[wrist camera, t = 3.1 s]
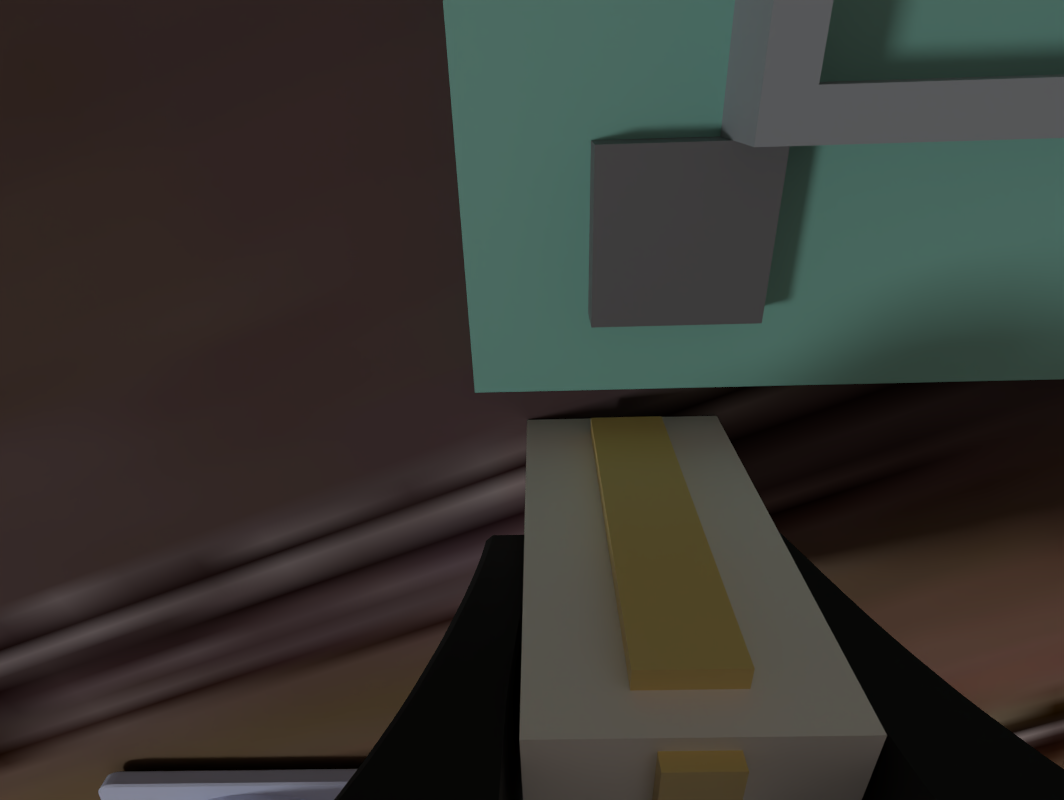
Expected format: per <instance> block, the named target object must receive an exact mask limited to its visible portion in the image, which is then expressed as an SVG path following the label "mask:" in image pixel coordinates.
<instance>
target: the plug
mask: <svg viewBox="0 0 1064 800" xmlns="http://www.w3.org/2000/svg"><path fill="white" fill-rule="evenodd" d="M886 737H887V734H886V732H885V730H884V729H883V727H882V725H881V723H880V721H879V719H878V717H877V715H876V714H875V712H874V710H873V708H872V706H871V704H870V702H869V700H868V699H867V697H866V695H865V693H864V691H863V689H862V687H861V685H860V684H859V682H858V680H857V678H856V676H855V674H854V672H853V670H852V669H851V667H850V665H849V663H848V661H847V659H846V657H845V655H844V654H843V652H842V650H841V648H840V646H839V644H838V642H837V640H836V639H835V637H834V635H833V633H832V631H831V629H830V627H829V625H828V624H827V622H826V620H825V618H824V616H823V614H822V612H821V610H820V609H819V607H818V605H817V603H816V601H815V599H814V597H813V595H812V594H811V592H810V590H809V588H808V586H807V584H806V582H805V580H804V579H803V577H802V575H801V573H800V571H799V569H798V567H797V565H796V564H795V562H794V560H793V558H792V556H791V554H790V552H789V550H788V549H787V547H786V545H785V543H784V541H783V539H782V537H781V535H780V534H779V532H778V530H777V528H776V526H775V524H774V522H773V520H772V519H771V517H770V515H769V513H768V511H767V509H766V507H765V505H764V504H763V502H762V500H761V498H760V496H759V494H758V492H757V490H756V489H755V487H754V485H753V483H752V481H751V479H750V477H749V475H748V474H747V472H746V470H745V468H744V466H743V464H742V462H741V460H740V459H739V457H738V455H737V453H736V451H735V449H734V447H733V445H732V444H731V442H730V440H729V438H728V436H727V434H726V432H725V430H724V429H723V427H722V425H721V423H720V421H719V419H718V417H717V416H682V417H661V416H651V417H606V418H591V419H545V420H527V452H526V493H525V533H524V573H523V614H522V654H521V694H520V735H519V742H520V758H521V775H522V791H523V800H862V798H863V796H864V793H865V790H866V788H867V785H868V783H869V780H870V778H871V775H872V773H873V770H874V768H875V765H876V762H877V760H878V757H879V755H880V752H881V750H882V747H883V745H884V742H885V740H886Z"/></svg>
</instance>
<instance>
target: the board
mask: <svg viewBox="0 0 1064 800" xmlns="http://www.w3.org/2000/svg"><path fill="white" fill-rule="evenodd" d="M443 7H444V19H445V31H446V43H447V56H448V68H449V80H450V92H451V105H452V117H453V129H454V142H455V154H456V166H457V178H458V191H459V203H460V215H461V228H462V240H463V252H464V264H465V277H466V289H467V301H468V314H469V326H470V338H471V350H472V363H473V375H474V387H475V393H478V392H522V391H566V390H610V389H654V388H698V387H742V386H786V385H830V384H874V383H918V382H961V381H1005V380H1049V379H1064V0H443Z"/></svg>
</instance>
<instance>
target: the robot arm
mask: <svg viewBox="0 0 1064 800" xmlns="http://www.w3.org/2000/svg"><path fill="white" fill-rule="evenodd" d="M778 532H779V531H778ZM779 534H780V535H781V537H782V539H783V541H784V543H785V545H786V547H787V549H788V550H789V552H790V554H791V556H792V558H793V560H794V562H795V564H796V565H797V567H798V569H799V571H800V573H801V575H802V577H803V579H804V580H805V582H806V584H807V586H808V588H809V590H810V592H811V594H812V595H813V597H814V599H815V601H816V603H817V605H818V607H819V609H820V610H821V612H822V614H823V616H824V618H825V620H826V622H827V624H828V625H829V627H830V629H831V631H832V633H833V635H834V637H835V639H836V640H837V642H838V644H839V646H840V648H841V650H842V652H843V654H844V655H845V657H846V659H847V661H848V663H849V665H850V667H851V669H852V670H853V672H854V674H855V676H856V678H857V680H858V682H859V684H860V685H861V687H862V689H863V691H864V693H865V695H866V697H867V699H868V700H869V702H870V704H871V706H872V708H873V710H874V712H875V714H876V715H877V717H878V719H879V721H880V723H881V725H882V727H883V729H884V730H885V732H886V734H887V737H886V740H885V742H884V745H883V747H882V750H881V752H880V755H879V757H878V760H877V762H876V765H875V768H874V770H873V773H872V775H871V778H870V780H869V783H868V785H867V788H866V790H865V793H864V796H863V798H862V800H1064V769H1063V768H1061V767H1060V766H1058V765H1057V764H1055V763H1054V762H1052V761H1051V760H1049V759H1048V758H1047V757H1045V756H1044V755H1042V754H1041V753H1040V752H1038V751H1037V750H1035V749H1034V748H1033V747H1031V746H1030V745H1029V744H1027V743H1026V742H1025V741H1023V740H1022V739H1020V738H1019V737H1018V736H1016V735H1015V734H1014V733H1012V732H1011V731H1010V730H1008V729H1007V728H1005V727H1004V726H1003V725H1001V724H1000V723H999V722H997V721H996V720H995V719H993V718H992V717H990V716H989V715H988V714H986V713H985V712H984V711H982V710H981V709H980V708H979V707H977V706H976V705H975V704H973V703H972V702H971V701H969V700H968V699H967V698H966V697H964V696H963V695H962V694H960V693H959V692H958V691H957V690H955V689H954V688H953V687H952V686H951V685H949V684H948V683H947V682H946V681H944V680H943V679H942V678H941V677H940V676H938V675H937V674H936V673H935V672H933V671H932V670H931V669H930V668H929V667H927V666H926V665H925V664H924V663H922V662H921V661H920V660H919V659H918V658H916V657H915V656H914V655H913V654H912V653H910V652H909V651H908V650H907V649H906V648H905V647H903V646H902V645H901V644H900V643H899V642H898V641H896V640H895V639H894V638H893V637H892V636H891V635H890V634H888V633H887V632H886V631H885V630H884V629H883V628H882V627H880V626H879V625H878V624H877V623H876V622H875V621H874V620H873V619H872V618H870V617H869V616H868V615H867V614H866V613H865V612H864V611H863V610H862V609H860V608H859V607H858V606H857V605H856V604H855V603H854V602H853V601H852V600H851V599H850V598H848V597H847V596H846V595H845V594H844V593H843V592H842V591H841V590H840V589H839V588H838V587H837V586H836V585H835V584H834V583H832V582H831V581H830V580H829V579H828V578H827V577H826V576H825V575H824V574H823V573H822V572H821V571H820V570H819V569H818V568H817V567H816V566H815V565H814V564H812V563H811V562H810V561H809V560H808V559H807V558H806V557H805V556H804V555H803V554H802V553H801V552H800V551H799V550H798V549H797V548H796V547H795V546H794V545H793V544H792V543H791V542H789V541H788V540H787V539H786V538H785V537H784V536H783V535H782V534H781V533H780V532H779ZM523 573H524V535H493V536H492V537H490V538H489V539H488V540H487V541H486V543H485V547H484V550H483V553H482V556H481V559H480V561H479V564H478V567H477V569H476V571H475V574H474V576H473V578H472V581H471V583H470V585H469V587H468V589H467V592H466V594H465V596H464V598H463V600H462V602H461V604H460V606H459V608H458V610H457V612H456V614H455V616H454V618H453V620H452V622H451V624H450V626H449V627H448V629H447V631H446V633H445V635H444V637H443V639H442V641H441V643H440V644H439V646H438V648H437V650H436V651H435V653H434V655H433V656H432V658H431V660H430V661H429V663H428V665H427V666H426V668H425V670H424V671H423V673H422V675H421V676H420V678H419V680H418V681H417V683H416V685H415V686H414V688H413V690H412V691H411V693H410V695H409V696H408V698H407V699H406V701H405V702H404V704H403V705H402V707H401V708H400V710H399V711H398V713H397V714H396V716H395V717H394V719H393V720H392V722H391V723H390V725H389V726H388V728H387V729H386V731H385V732H384V733H383V735H382V736H381V738H380V739H379V741H378V742H377V743H376V745H375V746H374V748H373V749H372V750H371V752H370V753H369V755H368V756H367V757H366V759H365V760H364V761H363V763H362V764H361V765H360V767H359V768H358V769H291V770H204V771H121V772H114V773H112V774H110V775H108V776H107V778H106V779H105V781H104V782H103V784H102V786H101V787H100V789H99V791H98V792H99V796H100V798H101V800H523V791H522V775H521V758H520V742H519V735H520V694H521V654H522V614H523Z"/></svg>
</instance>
